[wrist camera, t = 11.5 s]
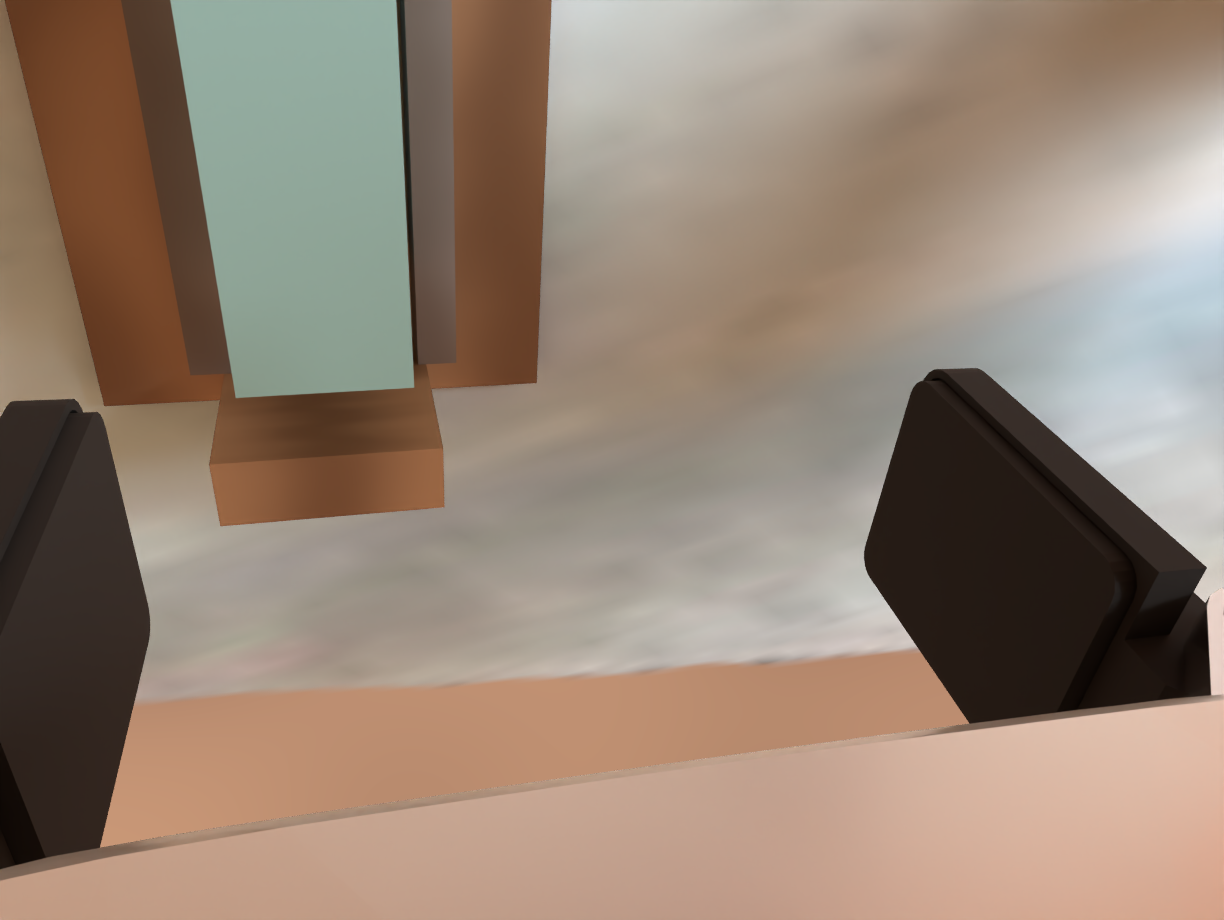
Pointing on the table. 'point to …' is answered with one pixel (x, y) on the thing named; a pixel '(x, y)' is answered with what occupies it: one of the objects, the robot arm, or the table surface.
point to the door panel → (302, 188)
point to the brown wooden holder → (183, 263)
